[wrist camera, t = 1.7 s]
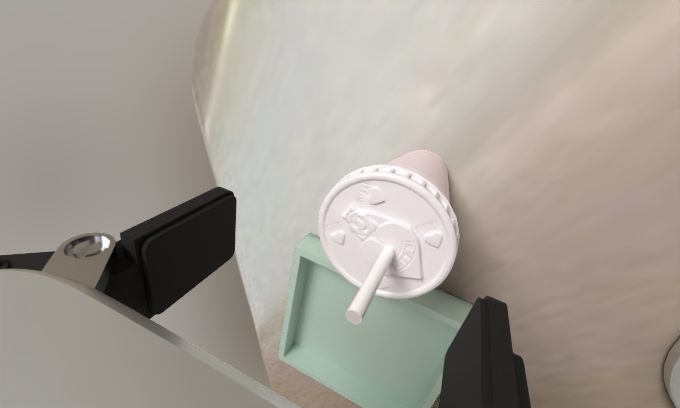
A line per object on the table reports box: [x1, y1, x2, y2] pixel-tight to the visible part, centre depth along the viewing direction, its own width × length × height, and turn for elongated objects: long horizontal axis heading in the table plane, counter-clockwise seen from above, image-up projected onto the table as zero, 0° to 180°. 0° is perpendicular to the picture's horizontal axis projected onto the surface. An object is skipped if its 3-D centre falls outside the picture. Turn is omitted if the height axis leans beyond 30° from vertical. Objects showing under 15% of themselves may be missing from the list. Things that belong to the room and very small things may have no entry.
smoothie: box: [318, 150, 460, 324], centre depth 16 cm, size 6×6×14 cm
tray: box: [278, 233, 473, 408], centre depth 28 cm, size 15×15×3 cm
